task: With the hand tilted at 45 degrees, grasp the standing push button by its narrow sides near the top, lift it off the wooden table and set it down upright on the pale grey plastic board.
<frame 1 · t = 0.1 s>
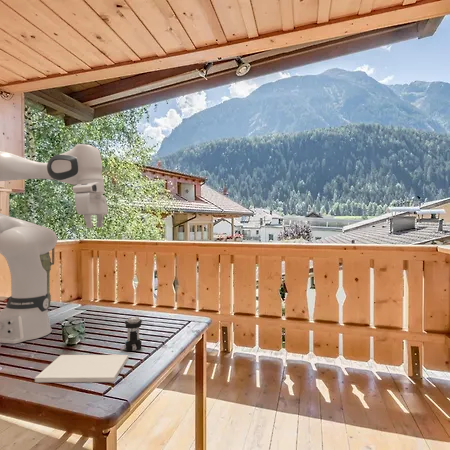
hand: (95, 227, 118), 39 cm above the table, tool pointing down, fingers open, 8 cm apart
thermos: (39, 308, 152), on the table
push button: (131, 350, 105), on the table
board: (85, 369, 90), on the table
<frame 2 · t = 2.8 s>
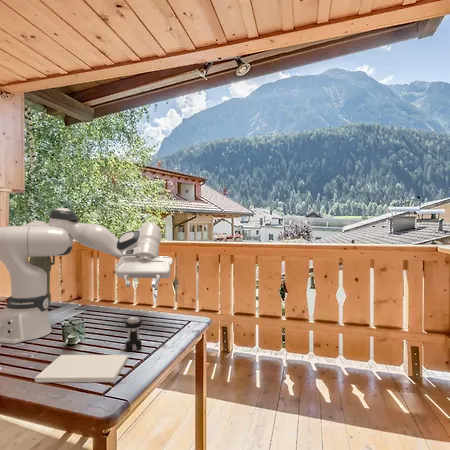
hand: (140, 286, 117), 18 cm above the table, tool tilted 45°, fingers open, 8 cm apart
nothing on the table moved.
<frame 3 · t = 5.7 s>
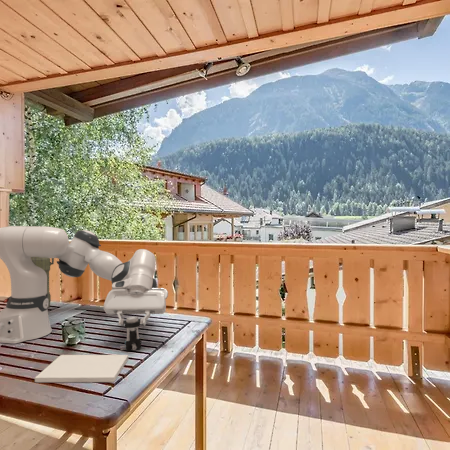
hand: (131, 324, 104), 8 cm above the table, tool tilted 45°, fingers closed on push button, 5 cm apart
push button: (131, 349, 105), on the table, touching gripper
everything else where it was.
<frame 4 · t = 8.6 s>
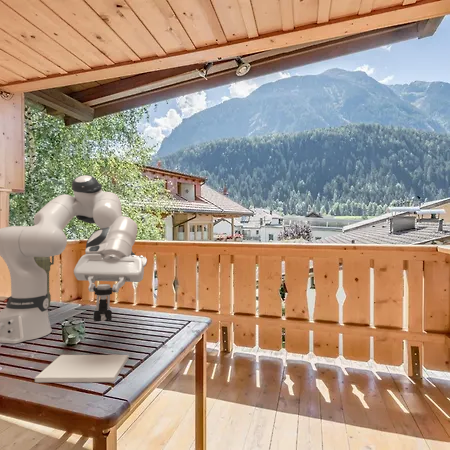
hand: (102, 290, 93), 21 cm above the table, tool tilted 50°, fingers closed on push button, 5 cm apart
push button: (99, 321, 93), point 13 cm above the table, touching gripper
everything else where it was.
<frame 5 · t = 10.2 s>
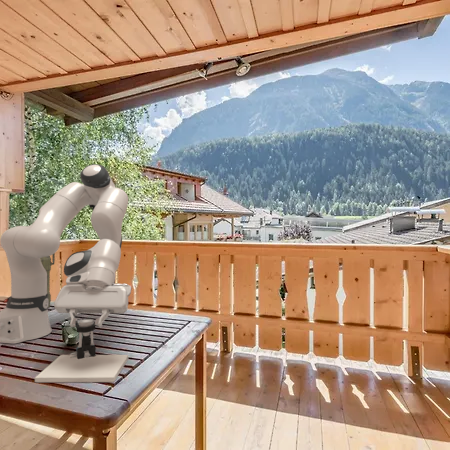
hand: (85, 325, 90), 12 cm above the table, tool tilted 45°, fingers closed on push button, 5 cm apart
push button: (83, 357, 90), point 3 cm above the table, touching gripper
everything else where it was.
when the fingers open (10 cm above the table, at t = 11.5 s): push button stays where it is, resting on board.
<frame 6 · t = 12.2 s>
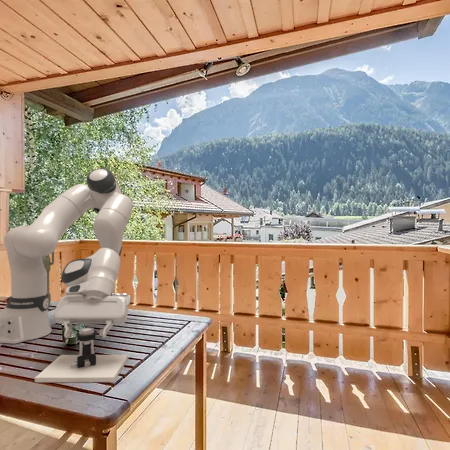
hand: (84, 336, 90), 9 cm above the table, tool tilted 45°, fingers open, 8 cm apart
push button: (83, 366, 90), point 1 cm above the table, touching board
everything else where it was.
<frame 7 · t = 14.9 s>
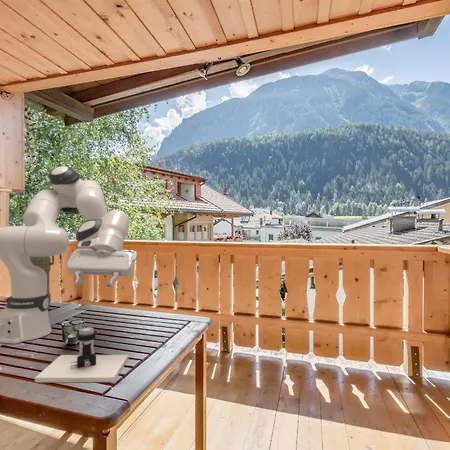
hand: (93, 285, 97), 22 cm above the table, tool tilted 45°, fingers open, 8 cm apart
nothing on the table moved.
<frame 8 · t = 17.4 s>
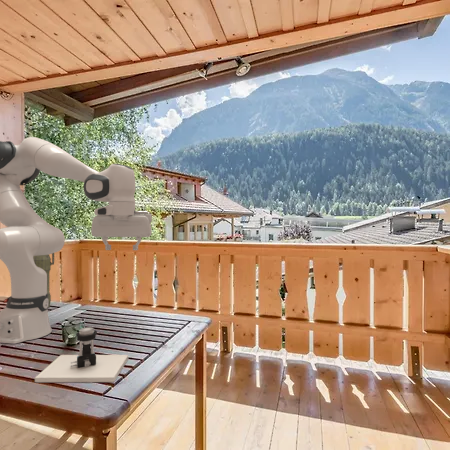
hand: (121, 250, 114), 31 cm above the table, tool pointing down, fingers open, 8 cm apart
nothing on the table moved.
at the end: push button inside the target area on the board (0.4 cm from its centre), point 1.0 cm above the board's base; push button tilted 0°; the gripper is holding nothing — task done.
